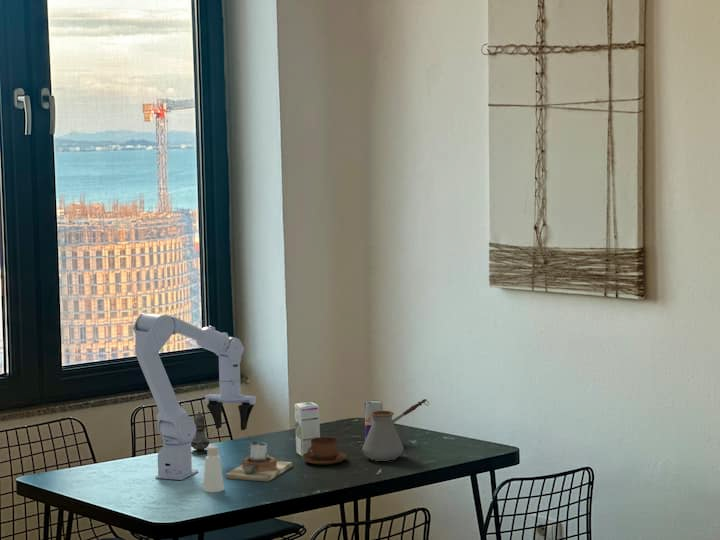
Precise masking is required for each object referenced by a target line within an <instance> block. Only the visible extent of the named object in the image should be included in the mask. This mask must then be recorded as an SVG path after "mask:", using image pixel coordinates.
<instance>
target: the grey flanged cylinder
mask: <svg viewBox="0 0 720 540" xmlns="http://www.w3.org/2000/svg"><path fill="white" fill-rule="evenodd" d="M193 418H194V420H193V421H194V422H195V424H196V434H195V436H194V438H193V439H192V442H191V448H193V449H194V450H191V455H195V456H200V455H201V456H202V455H206V454H207V455H208V453H207V447H209V446H210V445H209V444H210V441H211V439H210V438H208V437H207V435H206V427H207V426H205V416H204V415H203V414H201V412H200V411H198V412H197V414H196V415H195V416H193Z"/></svg>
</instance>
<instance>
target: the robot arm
mask: <svg viewBox="0 0 720 540" xmlns="http://www.w3.org/2000/svg"><path fill="white" fill-rule="evenodd" d="M132 326H133V327H132V330H133V332H134V335H135V338H134V339H135V343H134V346H135V349H134V352H135V356H136V358H137V361H138V363H139V366H140V368H141V371H142V373H143V375H144V378H145V381H146V383H147V385H148V387H149V390H150V392H151V394H152V397H153V399H154V402H155V405H156V407H157V409H158V413H157V414H156V416H155V418H156V421H157V432H158V433H159V435H160V436H161V437H162V442H163V445H162V447H161V448H159V451H158V453H157V475H154V476H155V477H154V478H155V479H164V480H165V479H166V480H175V481H176V480H177V481H179V480H180V481H182V480H184V479H187V478H188V477H190V476H192V475H193V474H196V473H198V472H199V469H195V468H194V469H193V465H192V463H193V461H192V454H191V452H192V446H191V442H192V439H193V438H194V436H195V434H196V424H195V422H194V420H193V419H191V417H190V416H189V414H188V412H187V411H186V410H185V409H184V408H183V407H182V406H181V405H180V404H179V401H178V398H177V395H176V393H175V391H174V389H173V386H172V384H171V382H170V379H169V375H168V374H167V372H166V369H165V367H164V365H163V362H162V359H161V357H160V354H159V353H160V351H161V350H162V349H163V347H164V346H165V345H166V344H167V341H168V340H169V339H170V338H171V337H172V335H181V336H184V337H187V338H189V339H192V340H195V342H196V345H197V346H198V347H200V348H202V349H205V350H206V351H210V352H212V353H214V354H215V355H216V356H218V374H219V377H218V378H219V393H214V394H213V393H208V394H205V396H204V401H205V403H208V404H206V408H207V409H208V410H209V412H210V415H211V417H212V418H213V422H214V426H215V430H218V429H219V430H220V428H222V426H223V425H222V424H223V423H222V421H223V420H222V411H223V403H226V404H227V403H230V404H240V405H237V408H238V411H239V418H240V430H241V431H245V430H246V429H247V426H248V421H249V418H250V414H251V412H252V410H253V409H254V406H255V404H256V403H257V401H256V400H257V399H256V395H247V394H241V362H242V356H243V354H244V351H245V346H243V343H242V341H241V340H240V338H237V337H234V336H230V335H229V334H228V332H220V331H218V330H216V327H215V326H211V325H208V326H204V327H202V328H199V327H197V326H195V325H193V324H191V323H189V322H188V321H184V320H182V319H181V318H179V317H175V316H170V315H168V314H158V313H157V314H156V313H150V312H142V313H140V314H139V315H138V317H137V318H136V320H135V322H134V324H133V325H132Z"/></svg>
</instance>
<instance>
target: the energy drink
mask: <svg viewBox="0 0 720 540" xmlns="http://www.w3.org/2000/svg"><path fill="white" fill-rule="evenodd" d="M383 405H384V404H383V401H382V400H379V399H370V400H369V399H368V400H366V401H365V402H364V436H365V437H364V439H365V440H366V438H367V435H368V433H369V430H370V428H371V425H372V423H373V417H372V415H371V413H372V412H375V411H384V406H383ZM365 440H364V441H365Z"/></svg>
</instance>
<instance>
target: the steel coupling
mask: <svg viewBox="0 0 720 540" xmlns="http://www.w3.org/2000/svg"><path fill="white" fill-rule="evenodd" d="M249 445H250V447H249V448H250V457H251V462H253V463H262V462H267V455H268V443H266V442H262V441H260V442H259V441H252V442H251V443H250V444H249Z"/></svg>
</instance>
